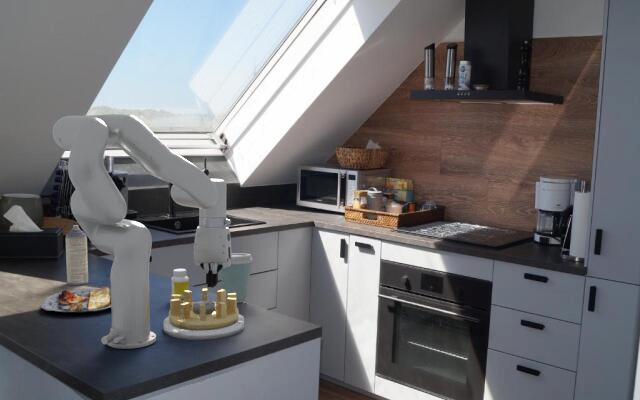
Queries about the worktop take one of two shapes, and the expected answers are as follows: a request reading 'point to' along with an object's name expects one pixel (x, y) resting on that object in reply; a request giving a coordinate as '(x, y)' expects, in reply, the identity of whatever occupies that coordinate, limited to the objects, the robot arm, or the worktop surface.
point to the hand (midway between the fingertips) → (211, 286)
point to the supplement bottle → (179, 282)
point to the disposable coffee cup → (237, 275)
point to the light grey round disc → (203, 331)
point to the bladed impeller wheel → (203, 311)
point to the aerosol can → (76, 257)
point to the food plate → (79, 300)
